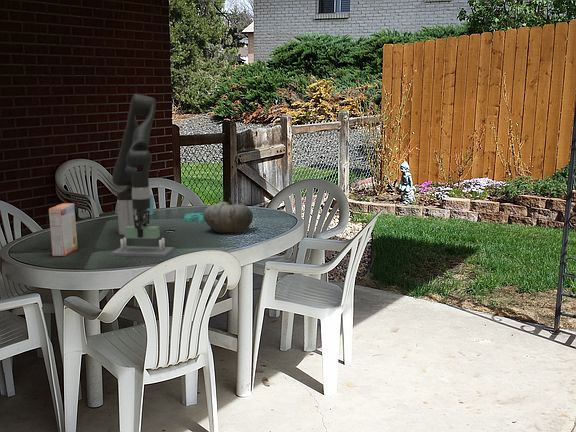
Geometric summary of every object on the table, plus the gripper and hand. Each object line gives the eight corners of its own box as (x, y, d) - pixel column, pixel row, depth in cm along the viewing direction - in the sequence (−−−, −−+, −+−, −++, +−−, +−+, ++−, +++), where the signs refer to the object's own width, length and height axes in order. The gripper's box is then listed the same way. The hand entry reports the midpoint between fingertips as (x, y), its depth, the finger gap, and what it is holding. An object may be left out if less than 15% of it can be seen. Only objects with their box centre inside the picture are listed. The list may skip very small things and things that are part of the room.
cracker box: (65, 249, 304) (62, 202, 300) (78, 249, 303) (75, 203, 300) (51, 256, 290) (47, 208, 287) (64, 256, 290) (61, 208, 286)
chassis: (122, 248, 304) (122, 234, 303) (174, 249, 301) (174, 236, 300) (110, 255, 291) (109, 241, 290) (164, 257, 288) (164, 242, 286)
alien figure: (227, 218, 380) (202, 215, 392) (227, 214, 379) (202, 211, 392) (200, 223, 365) (175, 219, 377) (200, 219, 364) (175, 215, 377)
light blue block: (147, 214, 394) (146, 193, 392) (153, 214, 392) (153, 193, 390) (133, 217, 384) (132, 196, 382) (140, 217, 382) (139, 196, 380)
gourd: (204, 232, 327) (207, 196, 327) (199, 231, 351) (201, 197, 351) (256, 234, 332) (258, 199, 332) (247, 233, 356) (249, 200, 357)
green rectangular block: (128, 235, 298) (128, 225, 297) (159, 236, 296) (159, 226, 296) (124, 238, 293) (124, 227, 293) (155, 238, 291) (155, 228, 291)
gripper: (143, 199, 284) (145, 239, 287) (154, 195, 298) (156, 233, 301) (126, 199, 285) (128, 239, 288) (138, 194, 299) (140, 232, 302)
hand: (142, 236), depth 295 cm, fingers closed on green rectangular block, 5 cm apart
